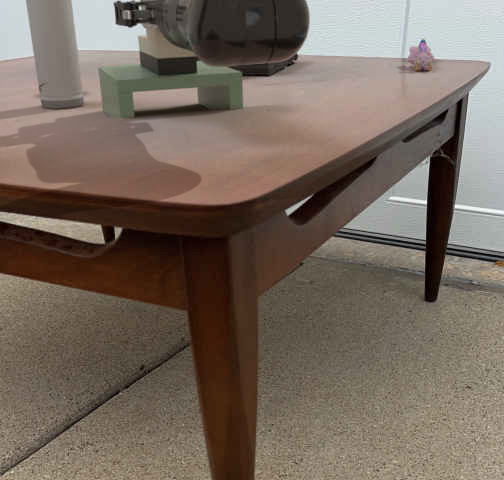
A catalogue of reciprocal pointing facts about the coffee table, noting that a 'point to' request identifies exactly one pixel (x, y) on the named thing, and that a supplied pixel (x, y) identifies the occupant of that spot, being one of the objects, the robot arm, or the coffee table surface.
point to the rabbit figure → (421, 56)
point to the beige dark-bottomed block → (164, 55)
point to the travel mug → (55, 53)
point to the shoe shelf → (168, 86)
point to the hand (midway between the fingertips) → (164, 10)
